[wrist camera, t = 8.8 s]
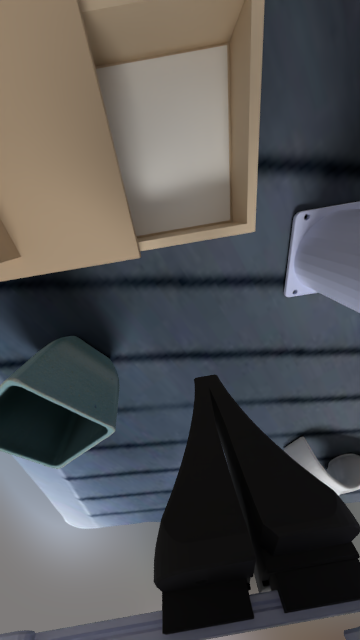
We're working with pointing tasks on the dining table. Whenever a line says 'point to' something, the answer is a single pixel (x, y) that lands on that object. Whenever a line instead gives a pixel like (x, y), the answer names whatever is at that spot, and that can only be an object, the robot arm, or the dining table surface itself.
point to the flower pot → (59, 403)
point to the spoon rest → (340, 473)
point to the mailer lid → (56, 148)
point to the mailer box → (182, 111)
